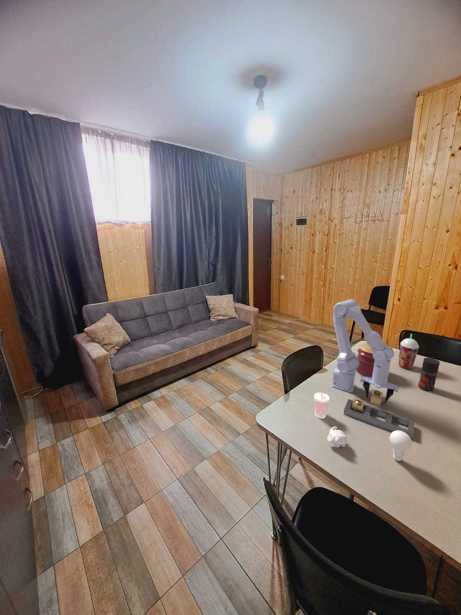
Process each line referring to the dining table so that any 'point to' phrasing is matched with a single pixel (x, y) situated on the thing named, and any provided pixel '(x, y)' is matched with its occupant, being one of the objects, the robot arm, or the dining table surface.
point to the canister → (365, 360)
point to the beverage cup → (321, 404)
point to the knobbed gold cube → (376, 397)
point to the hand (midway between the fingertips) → (376, 399)
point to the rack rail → (380, 423)
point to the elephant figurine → (337, 437)
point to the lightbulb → (400, 444)
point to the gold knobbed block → (358, 406)
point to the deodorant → (428, 374)
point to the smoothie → (408, 353)
